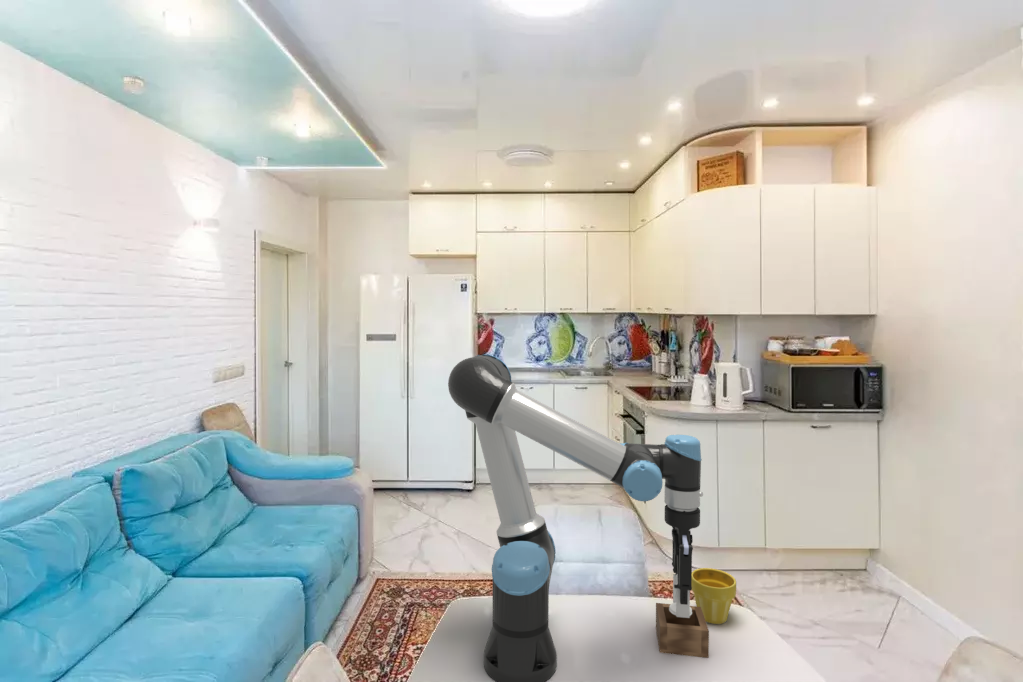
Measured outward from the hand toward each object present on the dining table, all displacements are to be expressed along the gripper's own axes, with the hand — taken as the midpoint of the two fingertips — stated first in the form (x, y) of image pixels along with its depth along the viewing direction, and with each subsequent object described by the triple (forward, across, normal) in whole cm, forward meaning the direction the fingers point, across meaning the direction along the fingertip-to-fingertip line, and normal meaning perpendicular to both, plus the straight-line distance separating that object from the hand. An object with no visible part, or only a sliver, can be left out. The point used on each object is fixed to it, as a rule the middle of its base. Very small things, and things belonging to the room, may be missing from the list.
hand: (681, 609), depth 120 cm
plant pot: (+7, +12, -9) cm, 17 cm away
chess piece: (+1, 0, 0) cm, 1 cm away
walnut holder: (+7, 0, 0) cm, 7 cm away
